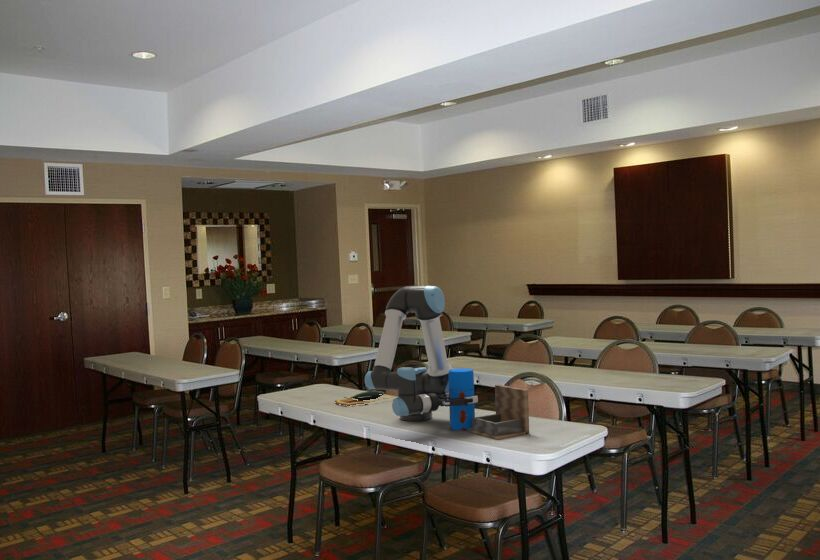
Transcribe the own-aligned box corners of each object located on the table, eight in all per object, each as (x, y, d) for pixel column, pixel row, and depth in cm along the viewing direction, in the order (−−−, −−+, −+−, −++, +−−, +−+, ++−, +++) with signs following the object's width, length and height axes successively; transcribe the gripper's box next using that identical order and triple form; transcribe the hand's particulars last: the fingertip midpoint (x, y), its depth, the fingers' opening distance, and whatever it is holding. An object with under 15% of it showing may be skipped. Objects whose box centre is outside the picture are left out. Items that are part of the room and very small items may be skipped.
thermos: (450, 431, 300) (449, 372, 300) (449, 425, 311) (447, 368, 311) (476, 430, 300) (474, 371, 300) (473, 424, 311) (472, 368, 311)
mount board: (468, 431, 298) (467, 389, 298) (499, 426, 307) (498, 384, 307) (497, 439, 282) (495, 394, 282) (529, 433, 291) (528, 389, 291)
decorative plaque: (379, 384, 394) (397, 388, 377) (379, 397, 394) (398, 401, 377) (329, 390, 377) (346, 394, 360) (330, 403, 377) (346, 408, 360)
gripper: (411, 407, 306) (451, 401, 318) (444, 416, 285) (485, 409, 297) (410, 390, 306) (450, 385, 318) (443, 397, 285) (485, 391, 297)
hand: (467, 397), depth 307 cm, fingers open, 13 cm apart
